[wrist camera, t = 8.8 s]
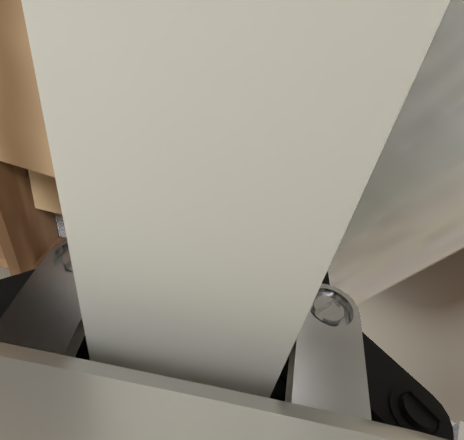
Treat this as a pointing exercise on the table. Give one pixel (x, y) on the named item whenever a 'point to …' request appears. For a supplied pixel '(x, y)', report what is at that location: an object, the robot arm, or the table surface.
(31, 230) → the rack
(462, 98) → the table surface
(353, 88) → the cream rectangular panel
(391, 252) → the table surface
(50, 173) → the offcut short
